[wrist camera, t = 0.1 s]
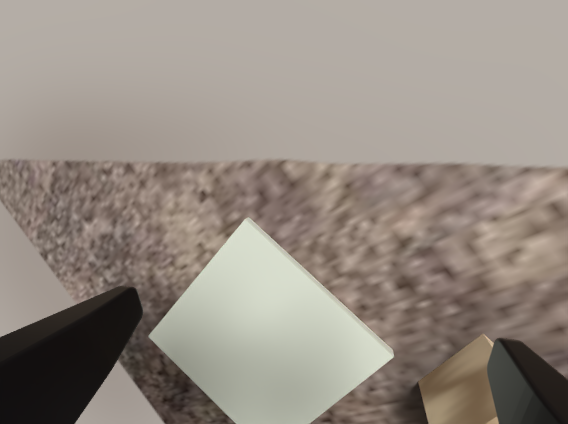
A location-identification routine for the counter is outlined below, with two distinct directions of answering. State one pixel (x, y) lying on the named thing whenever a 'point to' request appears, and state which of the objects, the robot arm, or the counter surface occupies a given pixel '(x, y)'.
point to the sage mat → (267, 335)
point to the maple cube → (461, 388)
